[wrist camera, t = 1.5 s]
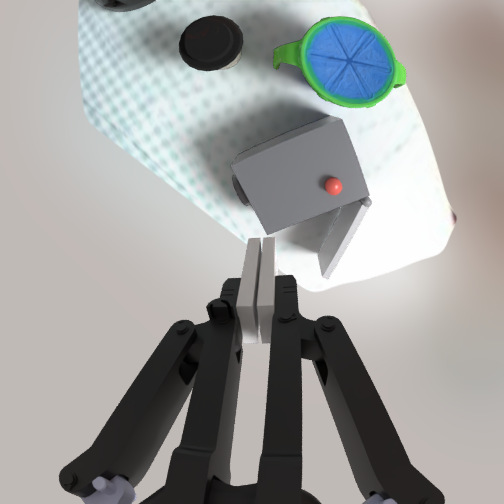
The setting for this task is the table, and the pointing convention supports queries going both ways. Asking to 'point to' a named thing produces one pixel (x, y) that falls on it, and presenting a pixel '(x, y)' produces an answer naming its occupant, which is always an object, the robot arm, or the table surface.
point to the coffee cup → (211, 43)
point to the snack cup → (345, 62)
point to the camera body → (299, 174)
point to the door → (341, 234)
